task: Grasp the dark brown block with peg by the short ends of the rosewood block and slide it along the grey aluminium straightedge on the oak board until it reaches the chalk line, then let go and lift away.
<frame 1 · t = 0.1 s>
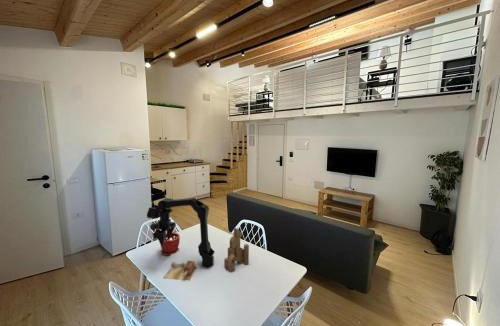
hand: (165, 242, 142), 15 cm above the table, fingers open, 9 cm apart
board: (181, 274, 133), on the table
plant pot: (170, 252, 158), on the table
brown block with peg: (189, 272, 133), point 1 cm above the table, touching board
wooden toy: (237, 266, 143), on the table
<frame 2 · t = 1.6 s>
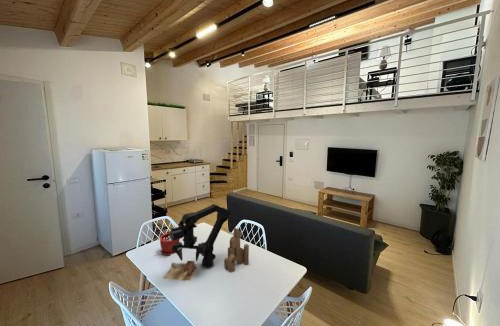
hand: (189, 260, 132), 9 cm above the table, fingers open, 9 cm apart
nothing on the table moved.
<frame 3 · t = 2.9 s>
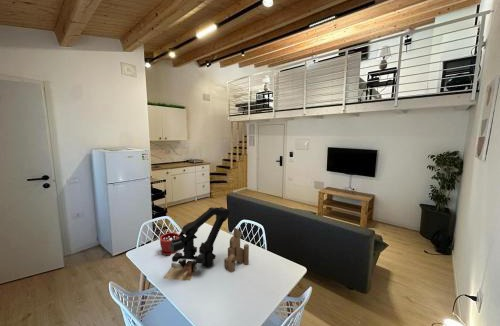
hand: (189, 271, 133), 2 cm above the table, fingers closed on brown block with peg, 4 cm apart
brown block with peg: (189, 272, 133), point 1 cm above the table, touching board, gripper
everything else where it was.
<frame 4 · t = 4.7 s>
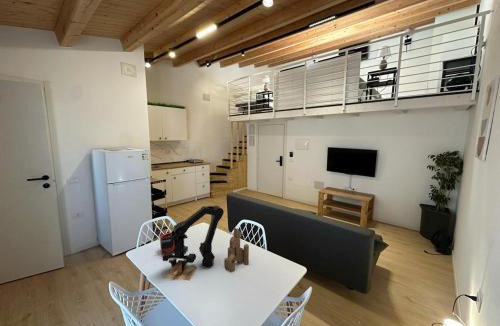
hand: (179, 270, 133), 2 cm above the table, fingers closed on brown block with peg, 4 cm apart
brown block with peg: (179, 271, 133), point 1 cm above the table, touching gripper
everything else where it was.
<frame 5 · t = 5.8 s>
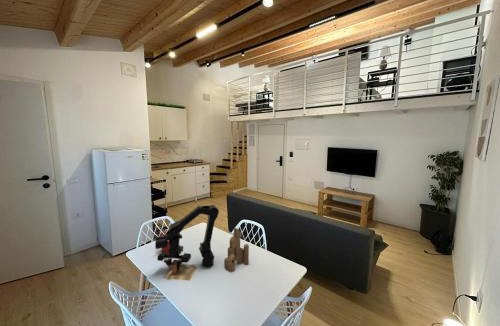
hand: (174, 270, 133), 2 cm above the table, fingers closed on brown block with peg, 4 cm apart
brown block with peg: (174, 271, 134), point 1 cm above the table, touching board, gripper
everything else where it was.
when the fingers open (2 cm above the table, at t = 6.5 s): brown block with peg stays where it is, resting on board.
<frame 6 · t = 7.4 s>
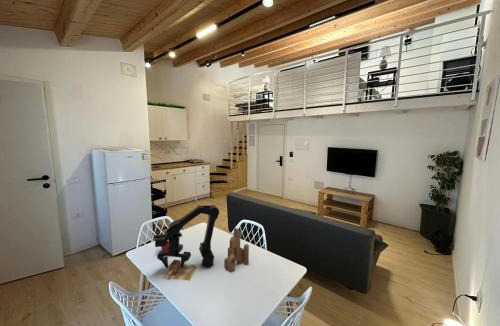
hand: (174, 268, 133), 3 cm above the table, fingers open, 9 cm apart
brown block with peg: (174, 271, 134), point 1 cm above the table, touching board
everything else where it was.
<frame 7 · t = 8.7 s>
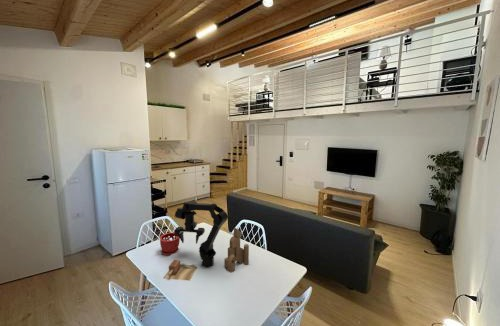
hand: (189, 243, 147), 12 cm above the table, fingers open, 9 cm apart
nothing on the table moved.
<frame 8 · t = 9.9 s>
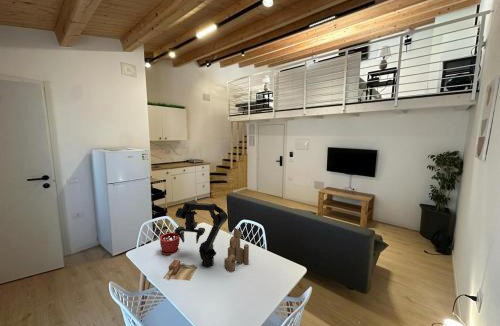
hand: (190, 242, 147), 12 cm above the table, fingers open, 9 cm apart
nothing on the table moved.
at the end: brown block with peg 0.1 cm from the target spot, point 1.2 cm above the table; brown block with peg tilted 0°; the gripper is holding nothing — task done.
